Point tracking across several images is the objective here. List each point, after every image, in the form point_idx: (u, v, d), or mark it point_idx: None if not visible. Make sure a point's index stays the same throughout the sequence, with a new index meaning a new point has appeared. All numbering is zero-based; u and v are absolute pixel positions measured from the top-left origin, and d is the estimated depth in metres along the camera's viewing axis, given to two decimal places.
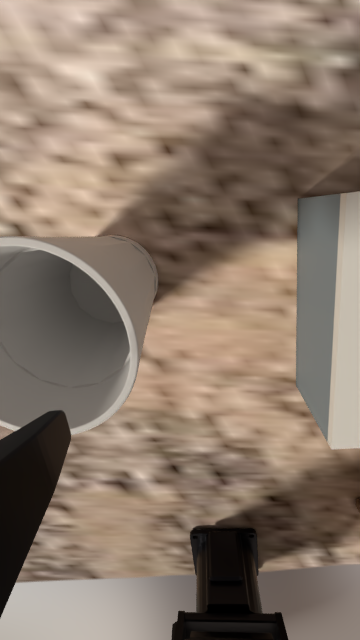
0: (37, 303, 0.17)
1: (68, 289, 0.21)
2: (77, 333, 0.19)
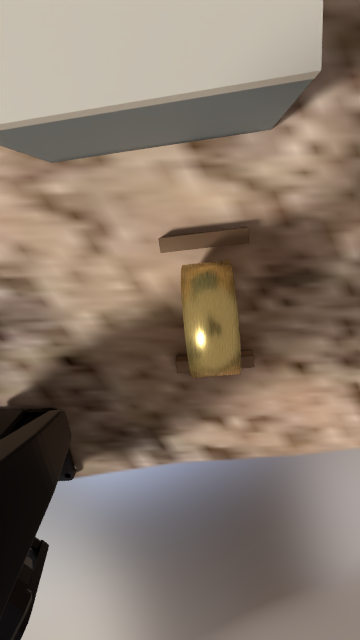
0: None
1: None
2: None
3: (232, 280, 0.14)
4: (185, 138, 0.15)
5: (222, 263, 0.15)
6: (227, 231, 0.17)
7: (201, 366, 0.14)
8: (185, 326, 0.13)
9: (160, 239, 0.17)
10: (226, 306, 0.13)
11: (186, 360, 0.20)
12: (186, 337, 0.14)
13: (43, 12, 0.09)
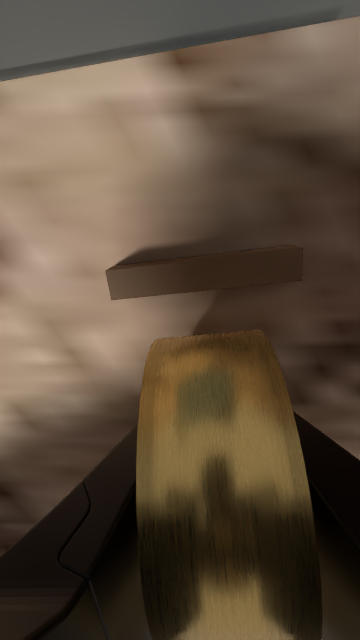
0: None
1: None
2: None
3: (292, 431, 0.04)
4: (157, 30, 0.06)
5: (253, 353, 0.06)
6: (255, 256, 0.08)
7: None
8: (146, 590, 0.04)
9: (109, 272, 0.08)
10: (279, 533, 0.04)
11: None
12: (150, 618, 0.04)
13: None
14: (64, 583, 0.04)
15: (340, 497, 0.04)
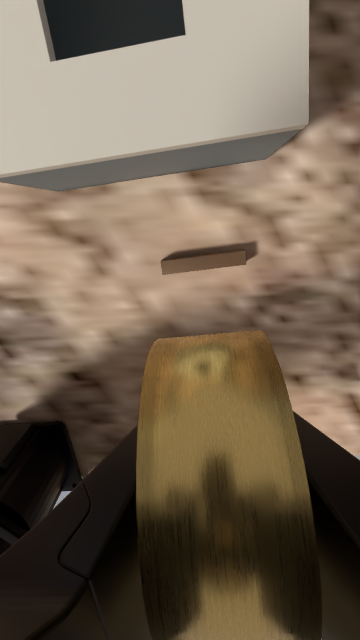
0: None
1: None
2: None
3: (292, 431, 0.04)
4: (185, 169, 0.16)
5: (253, 354, 0.06)
6: (225, 254, 0.18)
7: None
8: (146, 590, 0.04)
9: (162, 262, 0.18)
10: (278, 533, 0.04)
11: None
12: (150, 618, 0.04)
13: (56, 74, 0.10)
14: (64, 583, 0.04)
15: (340, 497, 0.04)
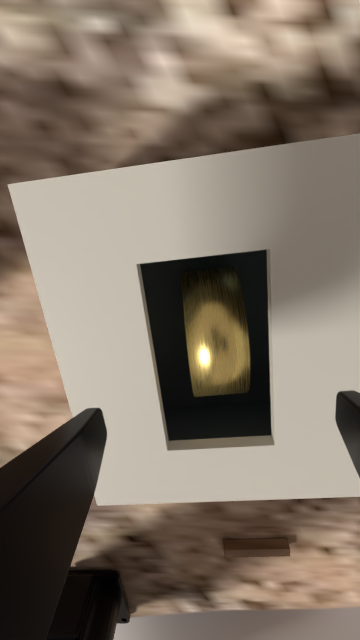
0: None
1: None
2: None
3: (240, 291, 0.12)
4: None
5: (227, 270, 0.13)
6: None
7: (206, 387, 0.13)
8: (188, 344, 0.12)
9: None
10: (234, 321, 0.12)
11: (232, 548, 0.24)
12: (189, 356, 0.12)
13: (171, 457, 0.13)
14: None
15: None
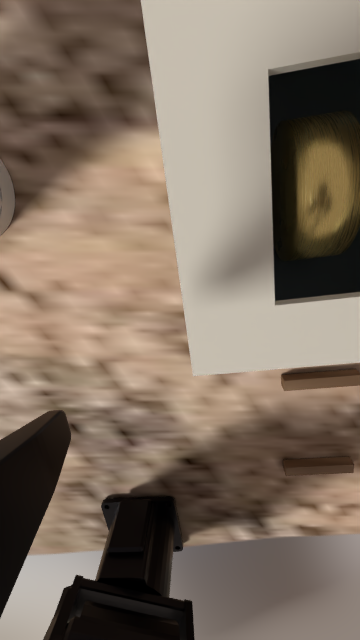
0: None
1: None
2: None
3: (353, 116, 0.12)
4: None
5: (330, 113, 0.13)
6: (343, 377, 0.20)
7: (313, 226, 0.12)
8: (301, 167, 0.11)
9: (285, 381, 0.21)
10: (351, 141, 0.11)
11: (294, 466, 0.23)
12: (301, 181, 0.11)
13: (278, 313, 0.13)
14: None
15: None
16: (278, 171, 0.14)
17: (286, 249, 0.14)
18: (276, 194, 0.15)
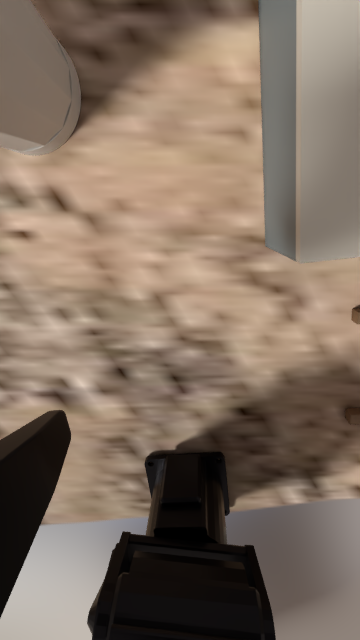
0: None
1: None
2: None
3: None
4: None
5: None
6: None
7: None
8: None
9: None
10: None
11: None
12: None
13: None
14: None
15: None
16: None
17: None
18: None
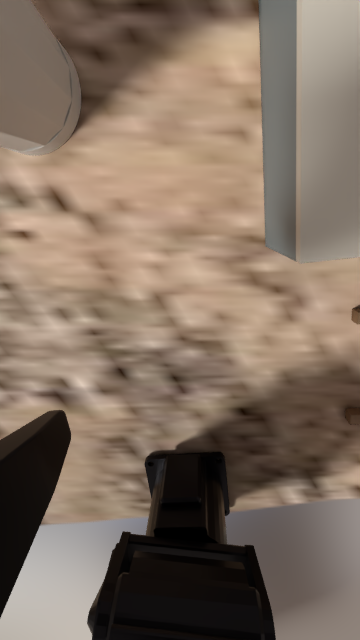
0: None
1: None
2: None
3: None
4: None
5: None
6: None
7: None
8: None
9: None
10: None
11: None
12: None
13: None
14: None
15: None
16: None
17: None
18: None
